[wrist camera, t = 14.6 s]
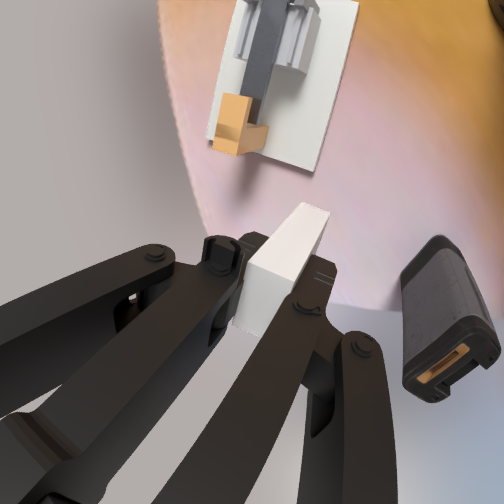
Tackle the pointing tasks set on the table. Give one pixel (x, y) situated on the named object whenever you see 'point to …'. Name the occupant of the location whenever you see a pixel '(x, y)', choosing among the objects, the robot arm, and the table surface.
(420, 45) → the table surface
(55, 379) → the robot arm
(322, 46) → the board
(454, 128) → the table surface
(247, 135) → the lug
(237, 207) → the table surface
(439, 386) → the electronic device
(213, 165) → the table surface
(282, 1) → the strap
